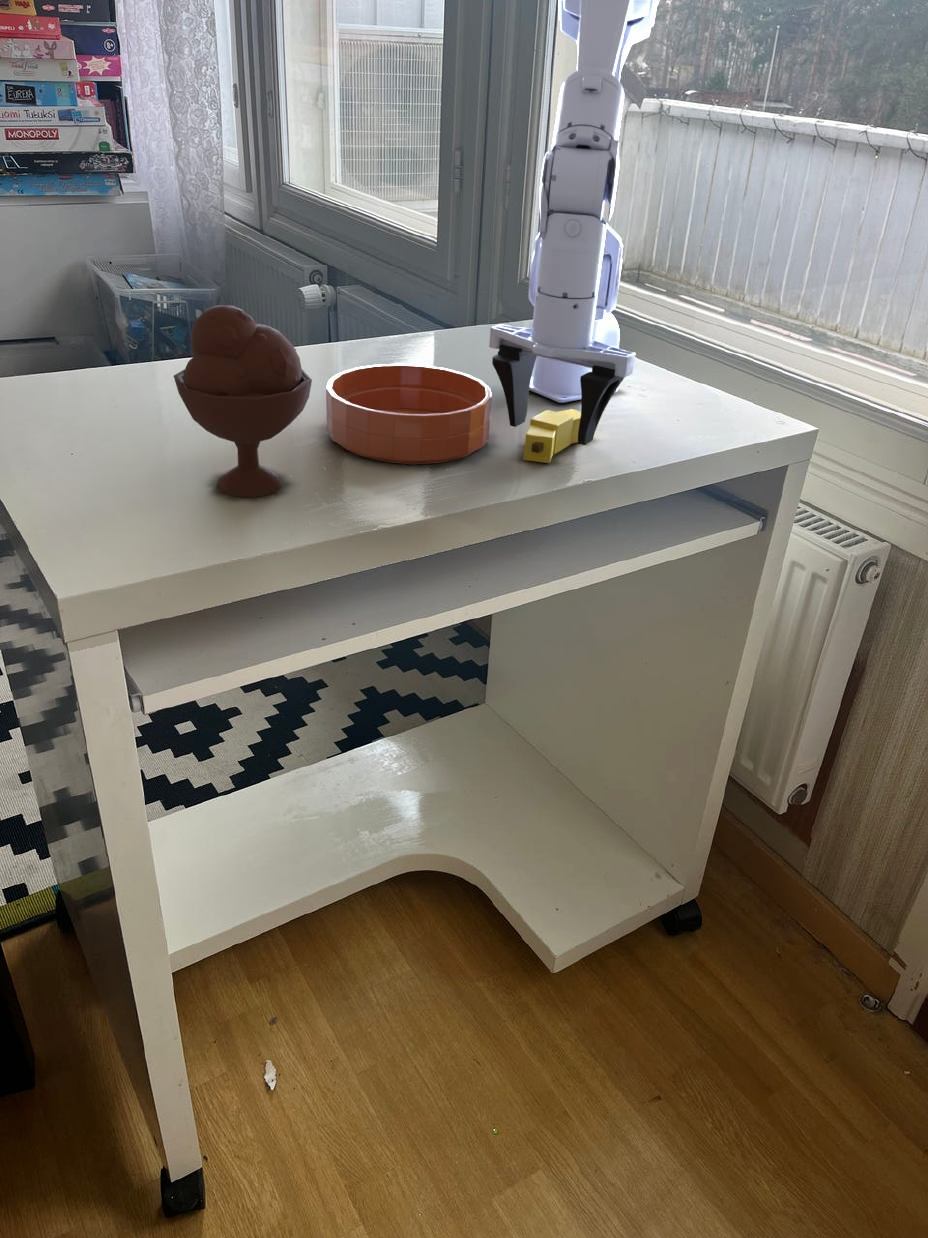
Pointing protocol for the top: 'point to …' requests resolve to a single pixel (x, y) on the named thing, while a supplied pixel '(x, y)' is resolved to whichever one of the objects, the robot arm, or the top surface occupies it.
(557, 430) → the yellow banana
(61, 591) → the top surface
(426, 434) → the bowl
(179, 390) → the ice cream bowl
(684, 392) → the top surface
